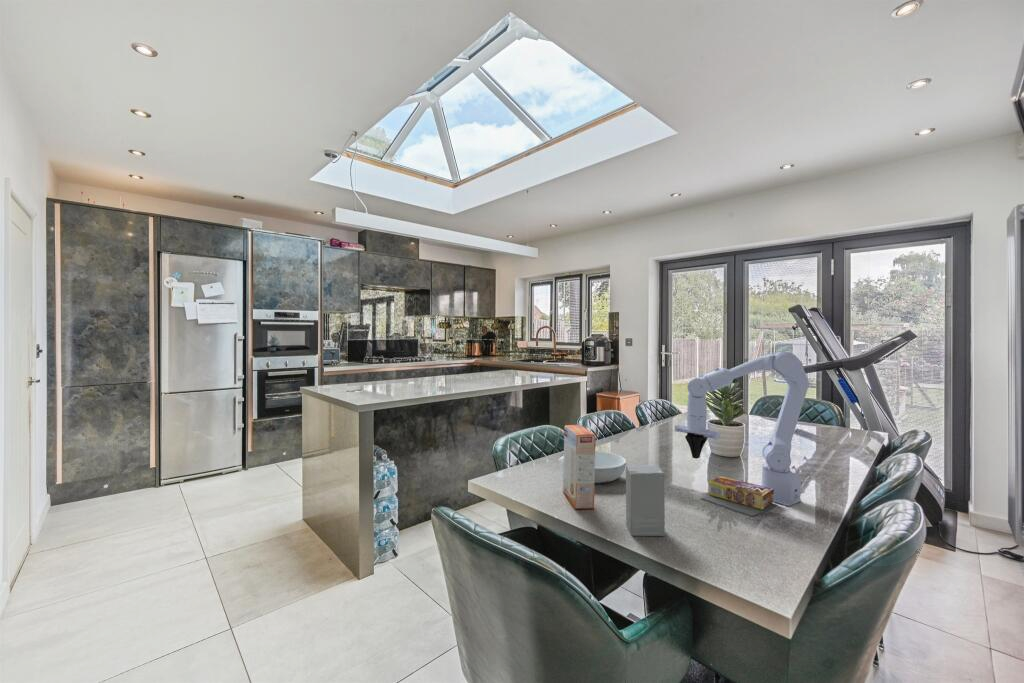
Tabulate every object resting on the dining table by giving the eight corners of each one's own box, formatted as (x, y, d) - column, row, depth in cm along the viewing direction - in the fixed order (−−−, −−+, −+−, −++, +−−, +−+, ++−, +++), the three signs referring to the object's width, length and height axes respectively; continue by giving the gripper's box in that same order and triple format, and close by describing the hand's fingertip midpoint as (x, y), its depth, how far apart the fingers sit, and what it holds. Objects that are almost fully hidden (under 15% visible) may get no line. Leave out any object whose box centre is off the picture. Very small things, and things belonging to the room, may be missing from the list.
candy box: (707, 496, 131) (762, 510, 119) (707, 481, 131) (762, 494, 119) (720, 489, 137) (774, 502, 125) (720, 475, 137) (774, 487, 125)
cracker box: (595, 509, 120) (596, 434, 120) (574, 510, 119) (575, 434, 119) (581, 491, 134) (582, 424, 133) (562, 492, 133) (563, 424, 133)
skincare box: (657, 525, 110) (658, 463, 109) (665, 538, 102) (666, 472, 102) (623, 524, 110) (624, 462, 110) (629, 537, 103) (630, 471, 103)
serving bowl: (560, 468, 157) (561, 449, 157) (618, 470, 156) (619, 451, 156) (565, 488, 136) (566, 466, 136) (632, 490, 135) (632, 468, 135)
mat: (778, 506, 124) (778, 505, 124) (752, 516, 116) (752, 515, 116) (727, 490, 136) (727, 489, 136) (701, 498, 128) (701, 497, 128)
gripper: (725, 417, 135) (724, 461, 135) (683, 411, 147) (682, 450, 147) (713, 420, 131) (712, 464, 131) (671, 412, 143) (670, 453, 143)
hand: (695, 457), depth 139 cm, fingers closed
